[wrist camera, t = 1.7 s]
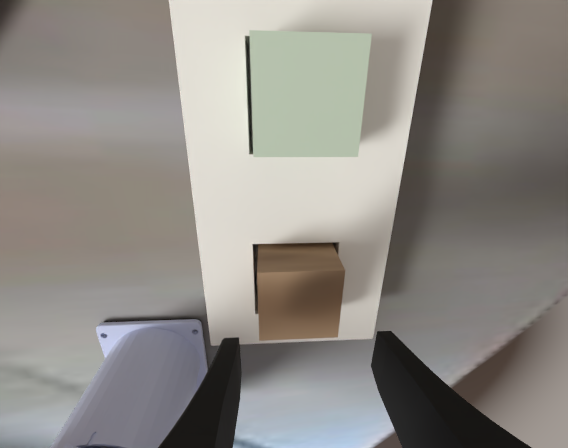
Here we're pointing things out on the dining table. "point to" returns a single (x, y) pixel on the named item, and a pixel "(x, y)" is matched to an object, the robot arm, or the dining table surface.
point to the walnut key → (299, 291)
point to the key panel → (292, 170)
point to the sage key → (307, 92)
